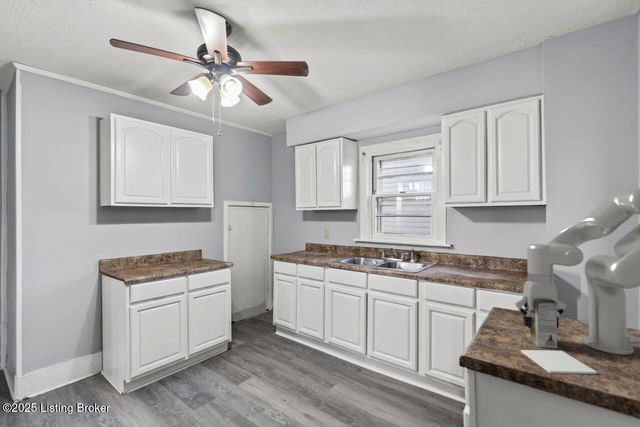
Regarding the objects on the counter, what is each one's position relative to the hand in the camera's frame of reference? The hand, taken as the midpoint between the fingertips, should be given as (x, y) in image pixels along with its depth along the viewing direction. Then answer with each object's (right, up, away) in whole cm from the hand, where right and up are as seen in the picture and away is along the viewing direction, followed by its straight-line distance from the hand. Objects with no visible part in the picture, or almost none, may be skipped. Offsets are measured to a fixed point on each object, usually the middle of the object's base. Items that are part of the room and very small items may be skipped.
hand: (541, 326), depth 110 cm
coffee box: (0, -6, 0) cm, 6 cm away
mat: (-6, -6, -15) cm, 17 cm away
